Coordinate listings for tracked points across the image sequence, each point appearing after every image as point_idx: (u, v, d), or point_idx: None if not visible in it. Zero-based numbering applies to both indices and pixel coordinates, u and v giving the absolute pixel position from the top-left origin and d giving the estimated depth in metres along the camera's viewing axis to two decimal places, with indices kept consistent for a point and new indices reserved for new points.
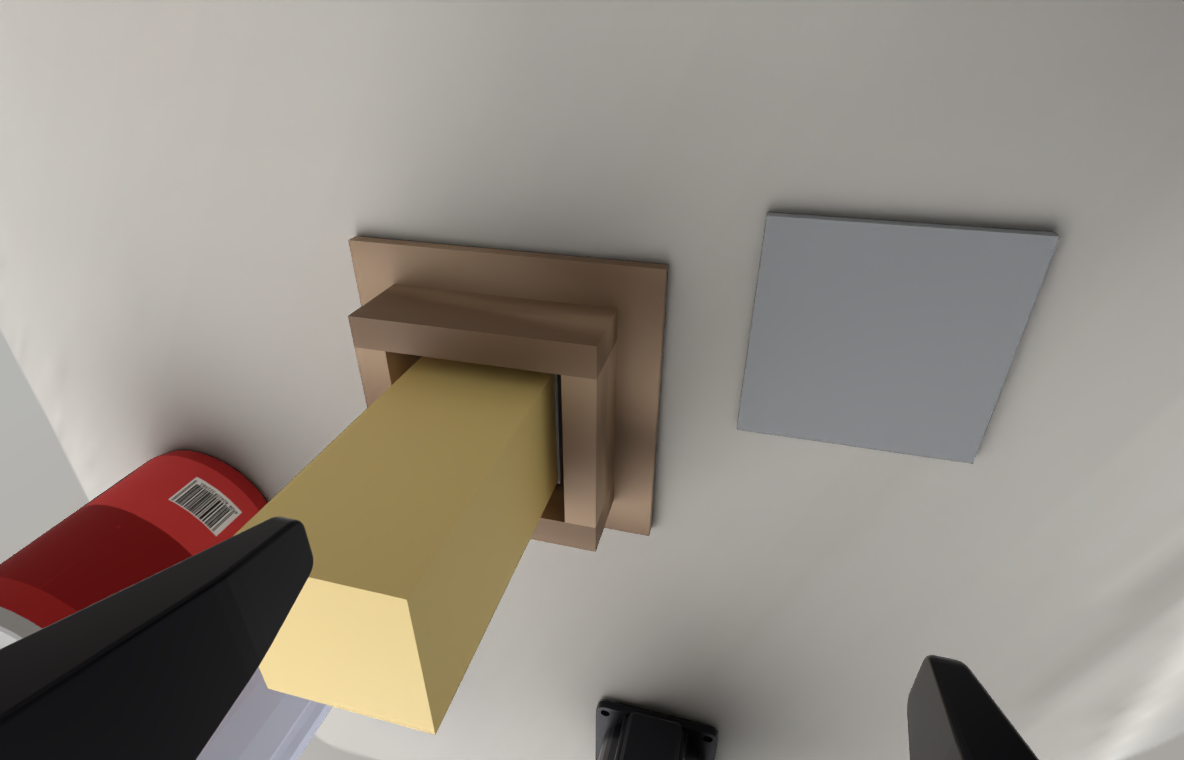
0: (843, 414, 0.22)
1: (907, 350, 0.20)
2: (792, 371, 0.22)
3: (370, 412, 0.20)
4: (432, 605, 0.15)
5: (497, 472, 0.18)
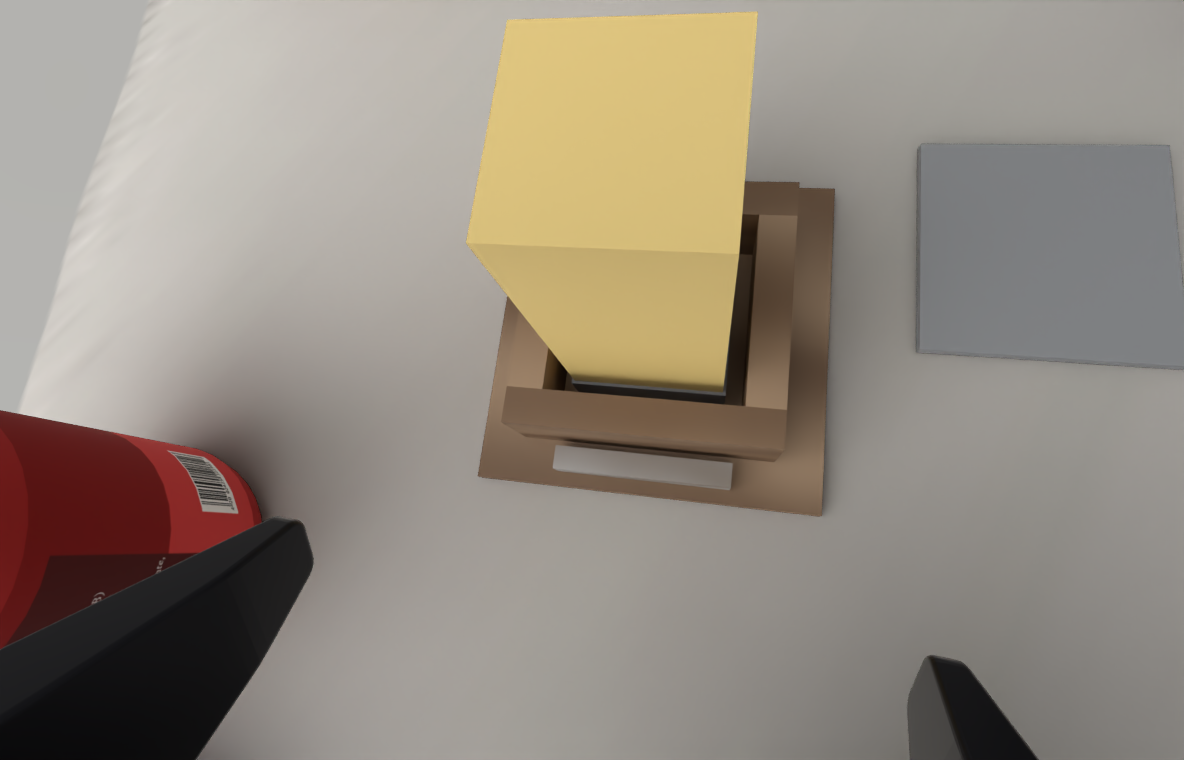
0: (1033, 320, 0.21)
1: (1077, 248, 0.22)
2: (969, 277, 0.22)
3: None
4: None
5: None
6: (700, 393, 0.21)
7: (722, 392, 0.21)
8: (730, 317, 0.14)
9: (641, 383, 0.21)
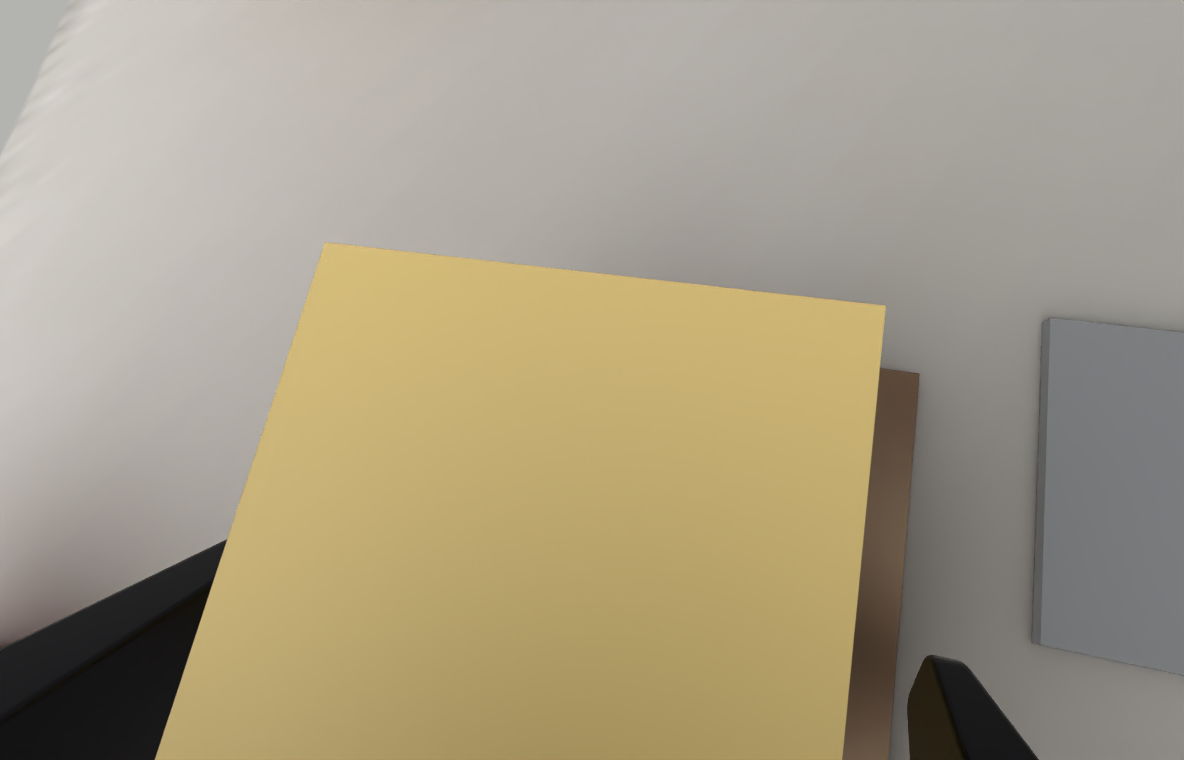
0: None
1: None
2: (1120, 538, 0.15)
3: None
4: None
5: None
6: None
7: None
8: None
9: None
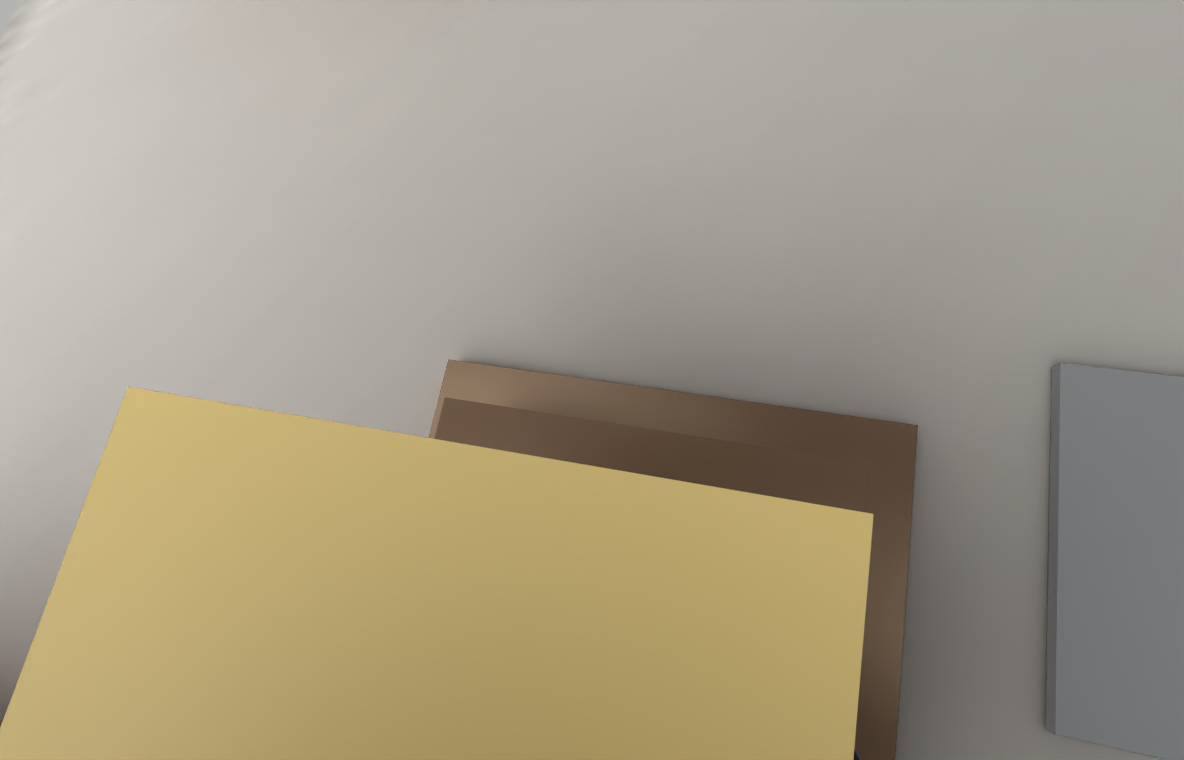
0: None
1: None
2: (1142, 612, 0.13)
3: None
4: None
5: None
6: None
7: None
8: None
9: None
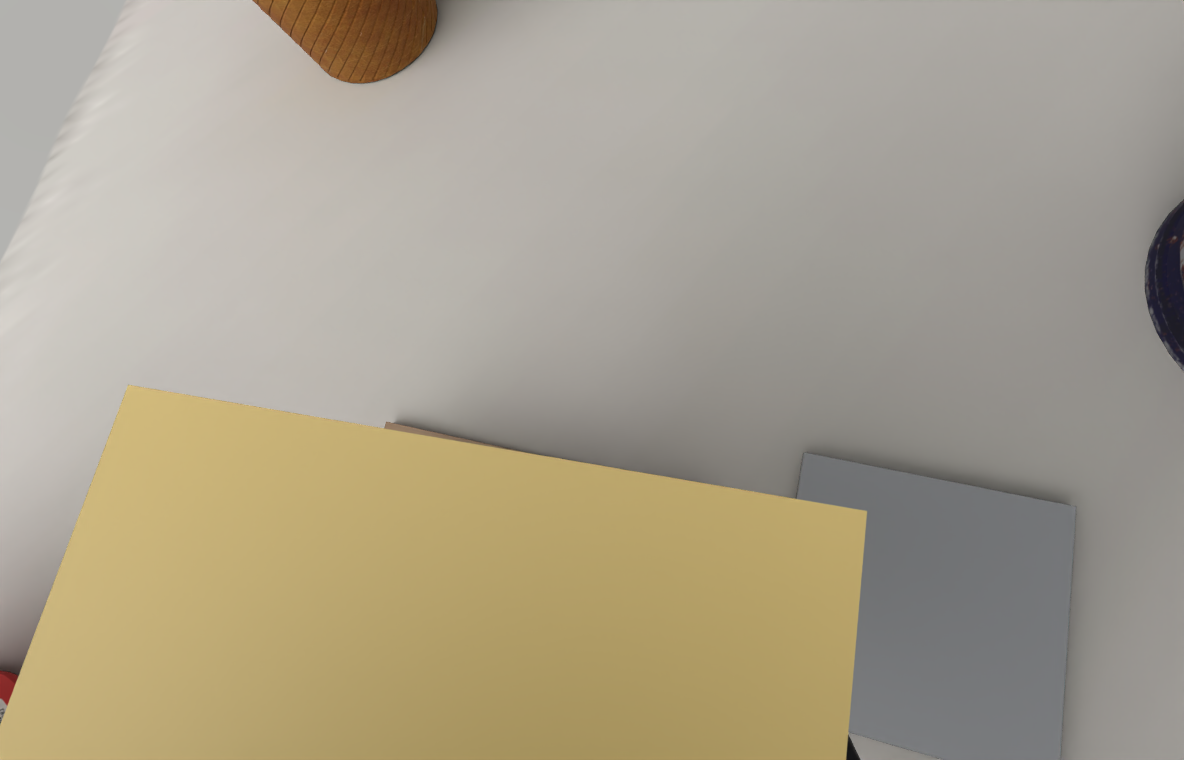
0: (891, 697, 0.19)
1: (954, 616, 0.19)
2: None
3: None
4: None
5: None
6: None
7: None
8: None
9: None
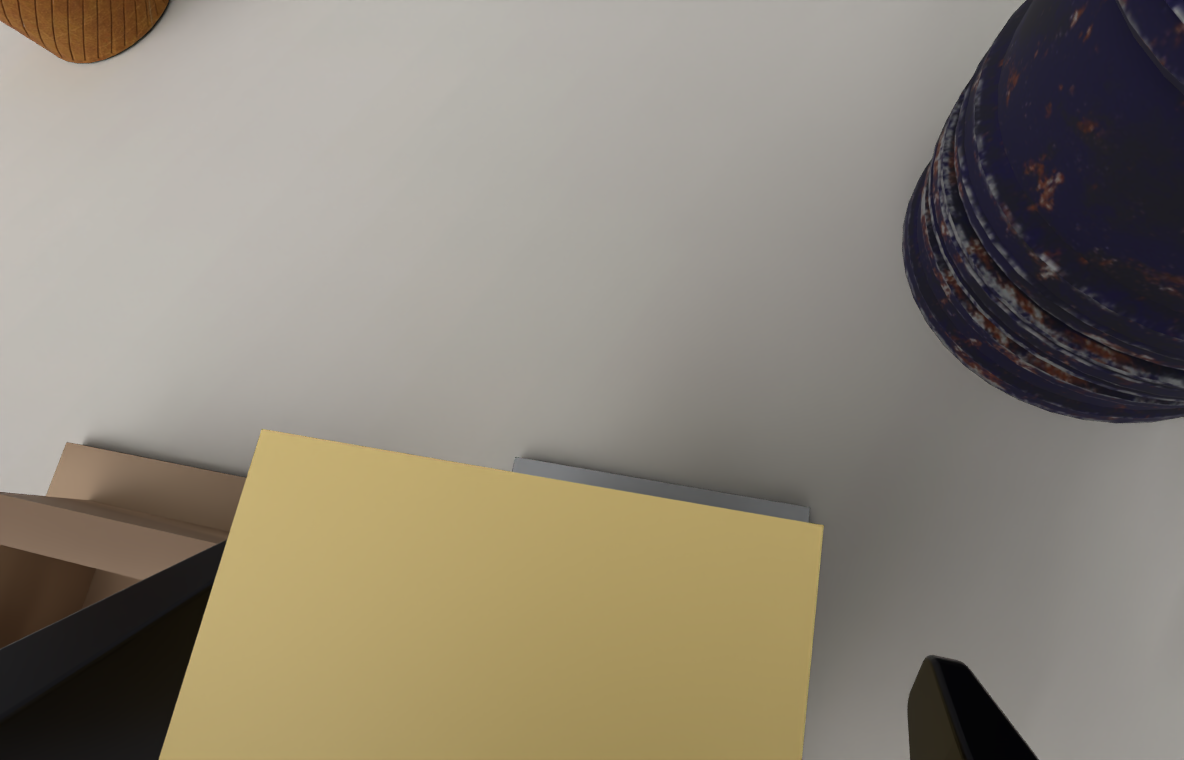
0: None
1: None
2: None
3: None
4: None
5: None
6: None
7: None
8: None
9: None
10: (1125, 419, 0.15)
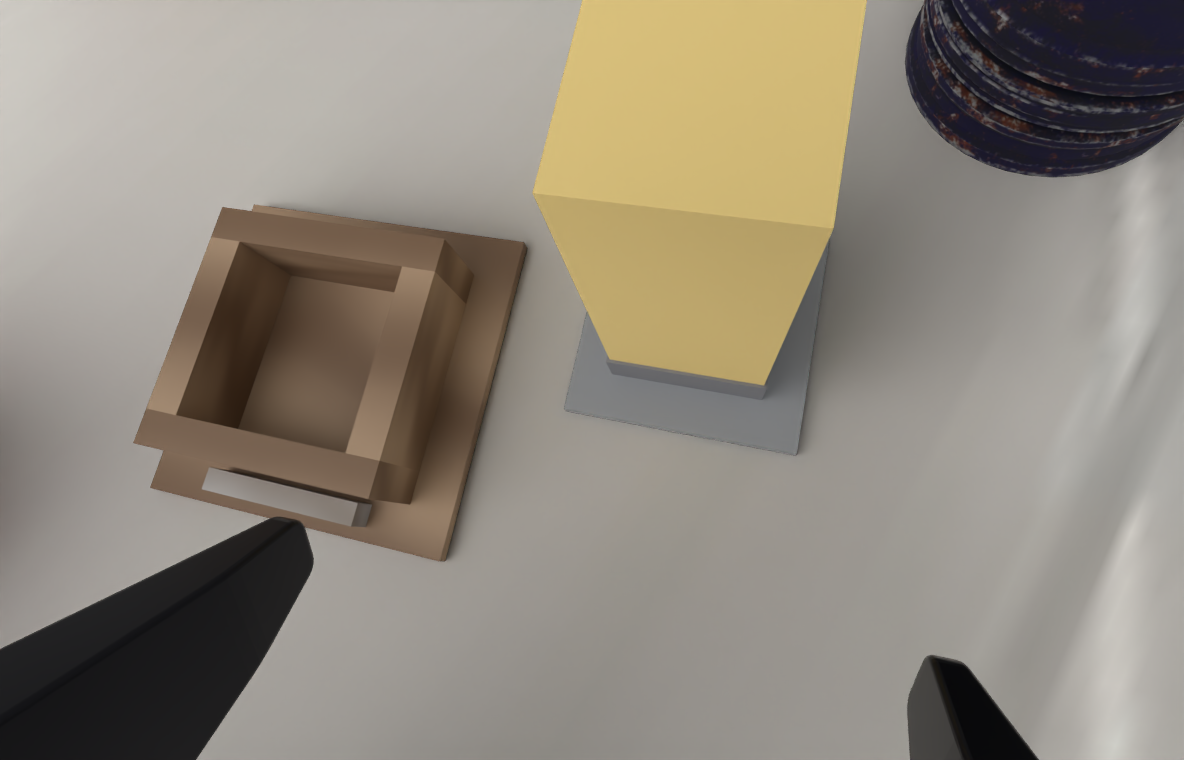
0: (669, 392, 0.22)
1: None
2: None
3: None
4: None
5: None
6: (740, 384, 0.20)
7: (763, 385, 0.20)
8: (799, 302, 0.13)
9: (679, 368, 0.20)
10: (1057, 170, 0.22)
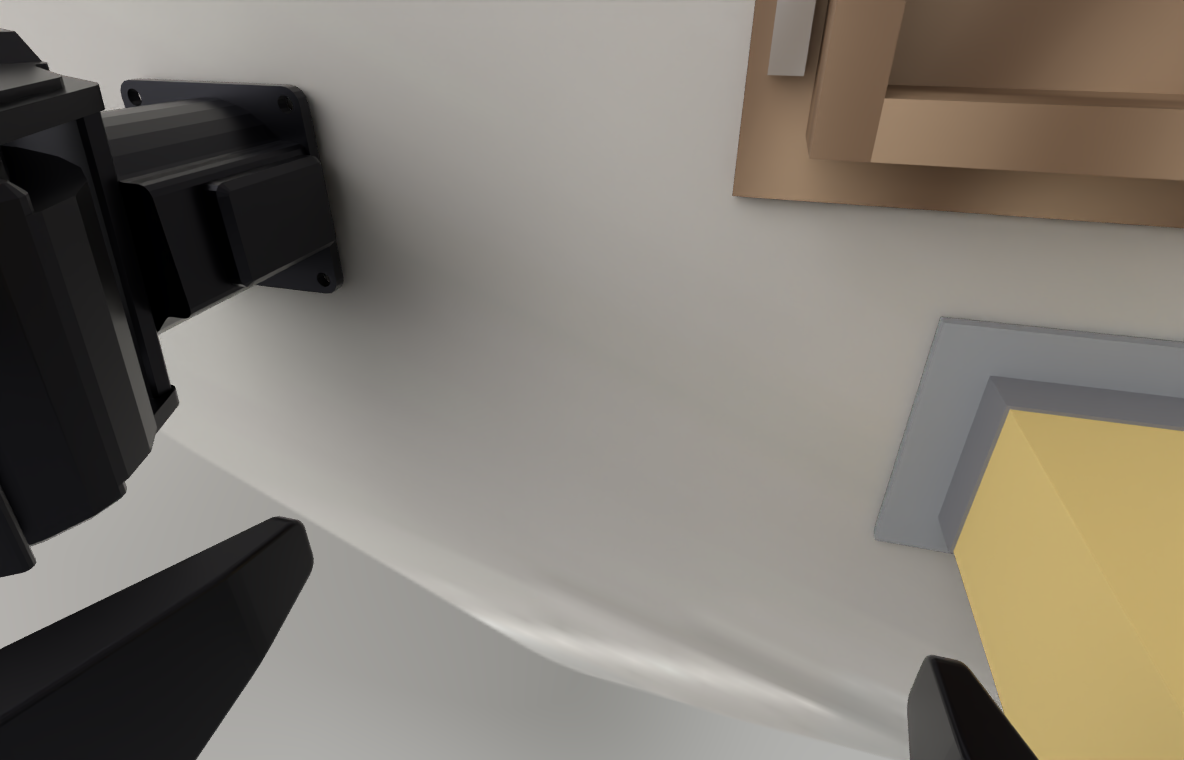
0: (955, 436, 0.19)
1: None
2: None
3: None
4: None
5: None
6: (957, 532, 0.18)
7: (953, 551, 0.19)
8: None
9: (984, 489, 0.17)
10: None
